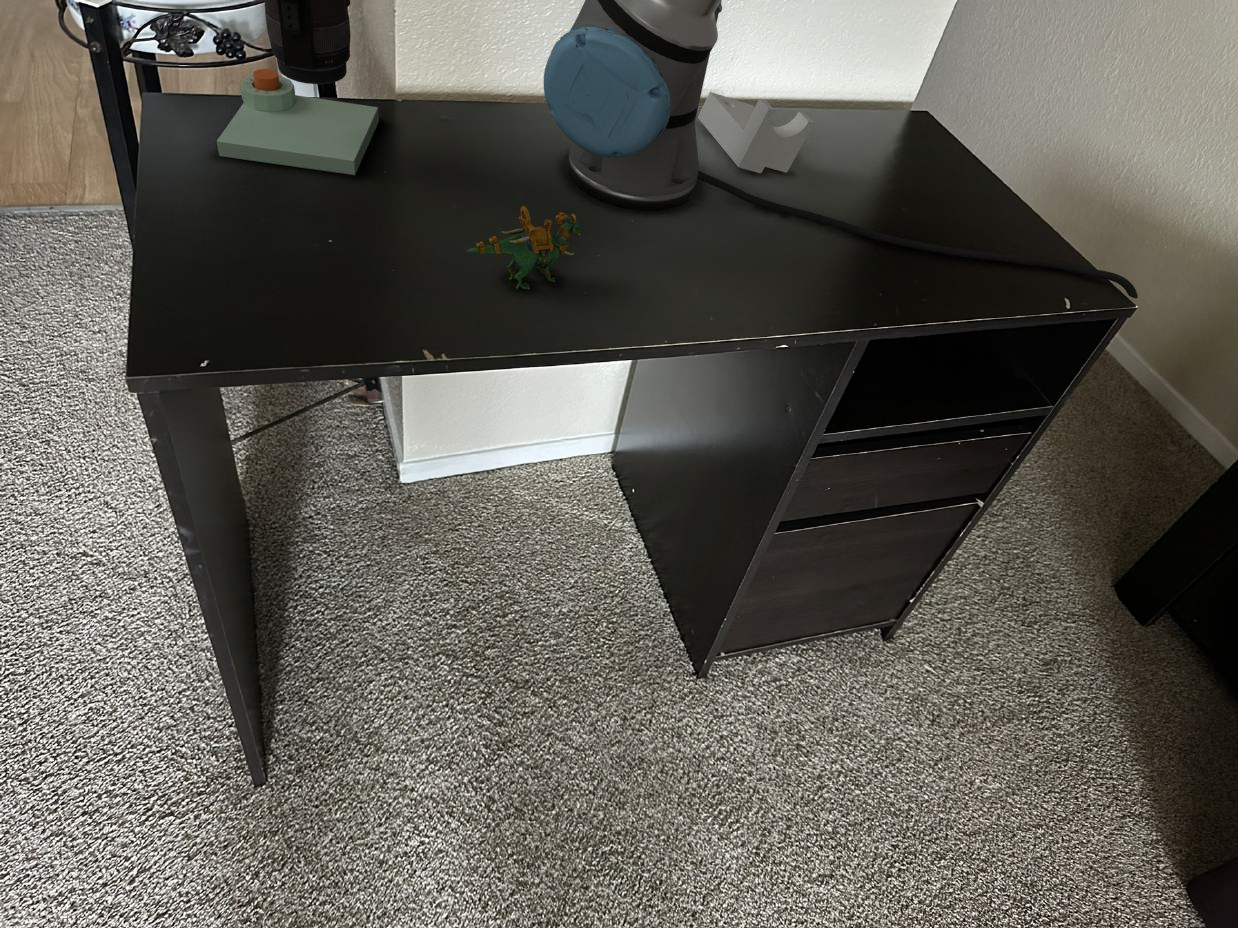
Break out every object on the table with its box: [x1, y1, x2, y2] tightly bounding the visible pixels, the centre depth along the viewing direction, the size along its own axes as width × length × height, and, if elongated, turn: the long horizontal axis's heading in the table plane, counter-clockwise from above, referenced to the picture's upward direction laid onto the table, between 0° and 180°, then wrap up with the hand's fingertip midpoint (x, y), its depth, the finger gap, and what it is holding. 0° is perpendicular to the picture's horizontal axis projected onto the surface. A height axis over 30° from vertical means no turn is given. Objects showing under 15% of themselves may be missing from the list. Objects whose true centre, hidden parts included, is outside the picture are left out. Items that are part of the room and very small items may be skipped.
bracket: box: [697, 91, 815, 174], centre depth 109 cm, size 13×7×8 cm, turn 19°
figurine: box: [466, 205, 582, 290], centre depth 81 cm, size 3×12×8 cm, turn 122°
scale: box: [216, 74, 380, 176], centre depth 95 cm, size 14×13×4 cm
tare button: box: [252, 68, 280, 91], centre depth 96 cm, size 3×3×2 cm
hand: (310, 48), depth 88 cm, fingers closed on camera lens, 8 cm apart
